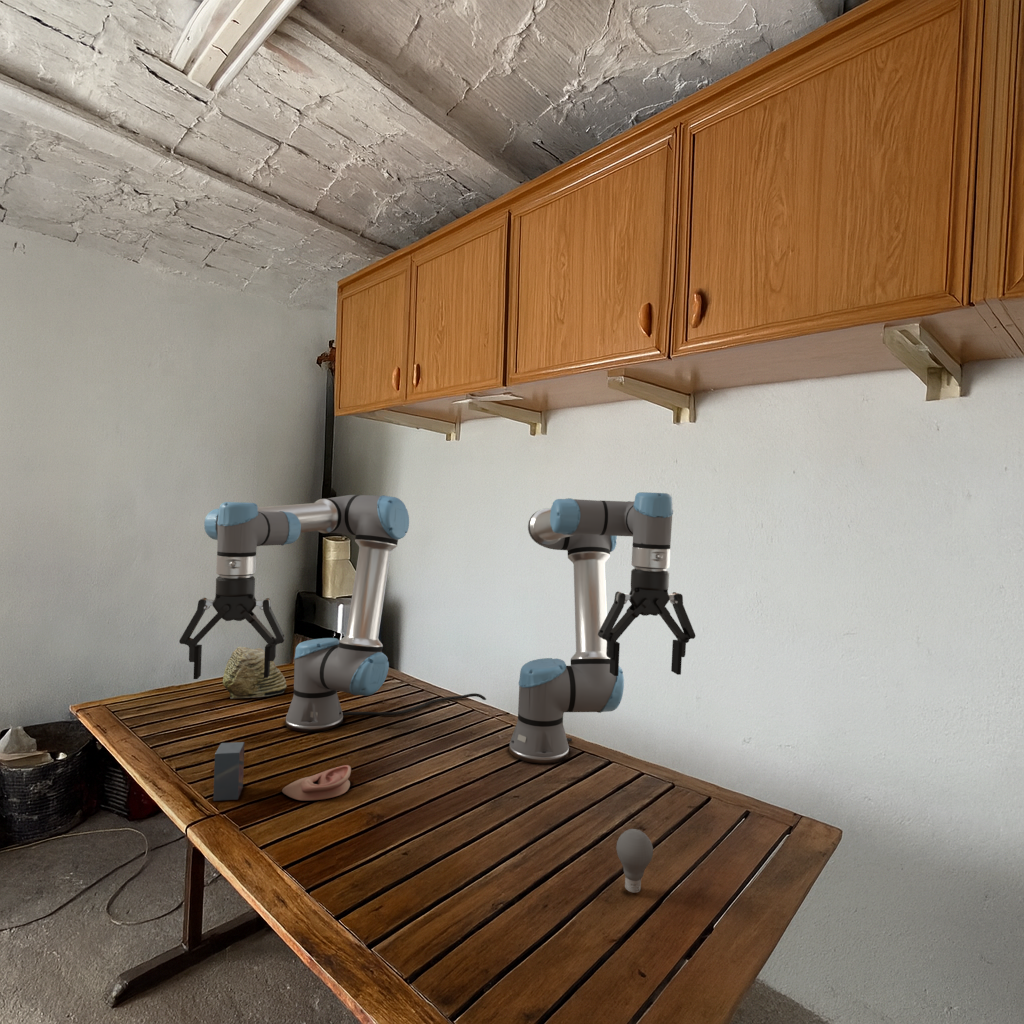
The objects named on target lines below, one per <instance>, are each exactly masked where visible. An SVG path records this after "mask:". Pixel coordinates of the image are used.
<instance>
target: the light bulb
mask: <svg viewBox="0 0 1024 1024" xmlns="http://www.w3.org/2000/svg"><path fill="white" fill-rule="evenodd" d="M615 849H616V854H617V857H618V859H619V861H620V863H621V865H622V867H623V873H624V874H623V875H624V876H625V878H624V888H625V890H627V891H628V892H630V893H634V894H635V893H639V892H640V891H641V889H642V887H641V886H642V879H643V877H644V875H645V871H646V868H647V867H648V866H649V864H650V863H651V861H652V859H653V855H654V847H653V843H652V841H651V838H649V836H648V835H647V834H646V833H645V832H643V831H642V830H641V829H636V828H629V829H627V830H625V831H623V832H622V833H621V834H620V835H619V837H618V839H617V841H616V847H615Z"/></svg>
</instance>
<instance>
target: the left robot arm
mask: <svg viewBox="0 0 1024 1024" xmlns="http://www.w3.org/2000/svg"><path fill="white" fill-rule="evenodd" d="M203 524H204V531H205V533H206V535H207V536H208V537H209V538H210V539H212V540H215V541H217V542H216V543H217V545H216V546H217V547H216V550H217V552H216V554H217V555H216V570H215V572H216V574H217V575H218V576H217V578H215V597H214V598H213V599H208V598H207V597H202V598H200V599H199V600H198V601H197V608H196V610H195V612H194V615H193V616H192V618H191V619H190V621H189V623H188V625H187V626H186V628H185V630H184V632H183V633H182V635H181V636H180V639H179V641H178V642H179V644H181V645H185V646H187V647H188V661H189V663H193V680H198V679H199V678H200V677H201V676H202V656H203V655H202V654H203V653H202V651H203V650H202V649H203V644H198V643H199V642H200V641H201V640H202V639H203V638H205V636H206V635H207V634H208V633H209V632H210V631H211V630H212V629H213V628H214V627H215V626H216V625H217V624H218V622H219V621H220V620H224V621H225V622H231V621H236V622H242V621H244V620H245V621H246V622H247V623H249V624H250V625H251V626H252V627H253V629H255V631H256V632H257V633H258V635H260V636H261V638H262V639H263V640H264V641H265V642H266V645H265V646H264V652H265V661H264V678H268V676H269V674H270V661H275V659H276V655H277V645H279V644H284V642H285V640H286V636H285V634H284V631H283V629H282V628H281V626H280V623H279V621H278V620H277V617H276V615H275V614H274V611H273V609H272V605H271V603H272V602H271V599H270V598H269V597H266V598H264V599H256V593H255V592H256V578H255V576H253V575H255V574H256V568H257V567H256V566H257V564H256V563H257V547H263V546H264V547H265V546H266V547H267V546H286V545H291V544H294V543H295V542H296V541H297V540H298V539H299V537H300V536H301V533H309V532H319V533H321V534H342V535H348V536H355V537H354V543H356V544H357V546H358V555H357V562H356V569H355V575H354V581H353V588H352V594H351V601H350V608H349V614H348V621H347V627H346V632H345V633H346V634H345V635H344V637H342V638H341V639H340V640H339V638H336V637H322V638H313V639H307V640H304V641H302V642H299V643H298V644H297V645H296V647H295V652H294V653H295V654H294V657H293V662H294V663H293V665H294V666H293V695H292V696H293V697H292V699H291V702H290V704H289V708H288V711H287V713H286V715H285V726H286V728H287V729H289V730H291V731H294V732H295V731H296V732H301V733H316V732H325V731H329V730H332V729H335V728H337V727H339V726H340V725H342V723H343V722H344V717H347V716H379V717H381V716H382V717H385V716H386V717H387V716H389V717H390V716H399V715H403V714H407V713H410V712H414V711H417V710H420V709H422V708H425V707H428V706H430V705H431V704H436V703H439V702H444V701H451V700H460V699H461V700H462V699H466V698H471V697H473V698H474V697H476V698H480V699H481V700H483V701H486V700H487V698H486V697H485V696H484V695H483V694H481V693H476V692H475V693H467V694H463V695H454V696H446V697H440V698H436V699H435V698H434V699H431V700H429V701H426V702H424V703H422V704H418V705H416V706H413V707H410V708H407V709H402V710H398V711H387V712H385V711H384V712H383V711H343V709H342V706H341V702H340V699H339V695H338V692H342V693H347V694H351V695H353V696H362V697H369V696H372V695H374V694H376V693H377V692H378V691H379V690H380V688H381V687H382V686H383V685H384V683H385V681H386V679H387V677H388V673H389V668H390V661H389V660H388V659H389V658H388V656H387V655H386V654H385V653H384V652H383V647H384V645H383V643H382V642H381V640H380V639H379V635H380V628H381V620H382V614H383V608H384V600H385V595H386V594H385V593H386V588H387V580H388V573H389V567H390V559H391V553H392V551H394V550H395V549H396V548H397V547H398V542H399V540H401V539H403V538H405V537H406V534H407V533H408V531H409V527H410V515H409V511H408V509H407V506H406V504H405V503H404V501H402V499H400V498H398V497H396V496H390V495H383V494H382V495H377V494H376V495H374V494H373V495H372V494H371V495H370V494H369V495H368V494H348V495H340V496H335V497H328V498H327V497H326V498H320V499H319V498H318V499H317V500H316V501H314V502H309V503H297V504H284V505H283V504H282V505H267V506H258V504H257V503H255V502H242V501H241V502H240V501H224V502H222V503H221V504H220V505H219V508H214V509H212V510H210V511H209V512H208V513H207V514H206V516H205V518H204V523H203ZM211 606H212V607H213V609H214V610H215V611H216V614H215V615H214V616H213V617H212V618H211V619H210V621H208V623H207V624H205V626H203V628H202V629H201V630H200V631H199V632H198V633H197V634H196V635H195V636H194V637H193V638H192V635H193V633H194V631H195V630H196V628H197V626H198V624H199V623H200V621H201V619H202V618H203V616H204V614H205V612H206V611H207V610H209V609H210V607H211ZM256 607H259V610H261V611H263V614H264V616H265V618H266V621H267V622H268V624H269V626H270V629H271V630H272V632H273V634H274V635H273V634H272V633H271V632H270V631H269V629H268V628H267V627H266V626H265V625H264V624H263V623H262V622H261V621H260V619H259V618H258V617H257V615H256V614H255V613H254V612H253V610H254V609H255V608H256ZM274 636H275V637H274Z"/></svg>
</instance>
